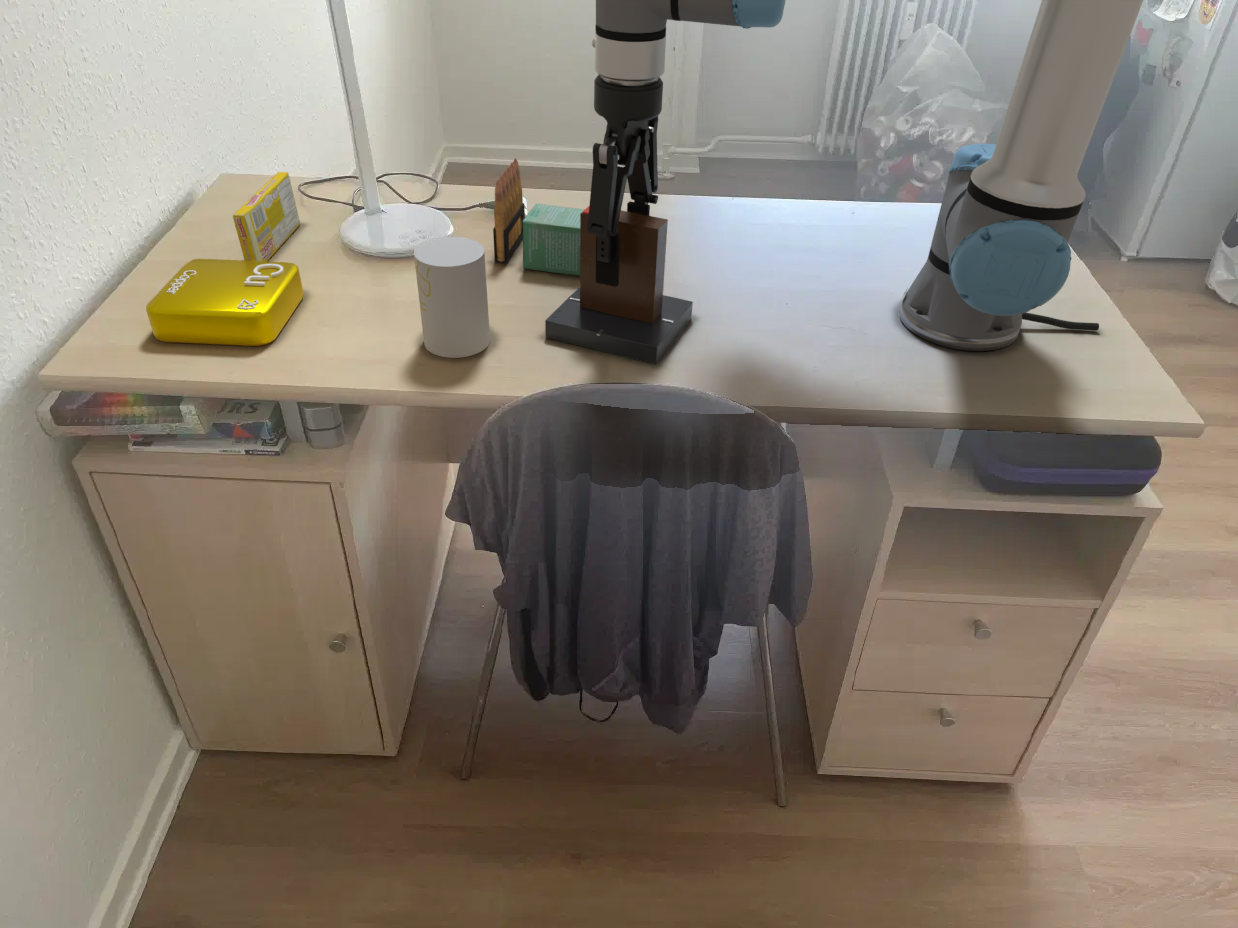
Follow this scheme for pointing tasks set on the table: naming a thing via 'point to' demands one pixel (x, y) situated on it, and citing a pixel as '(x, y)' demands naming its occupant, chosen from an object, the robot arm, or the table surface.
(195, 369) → the table surface
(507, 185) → the ammunition clip
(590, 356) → the table surface
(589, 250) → the brown red-tipped block
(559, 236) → the box
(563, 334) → the dark grey square slab
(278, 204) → the candy box
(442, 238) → the cup
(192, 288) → the element tile
